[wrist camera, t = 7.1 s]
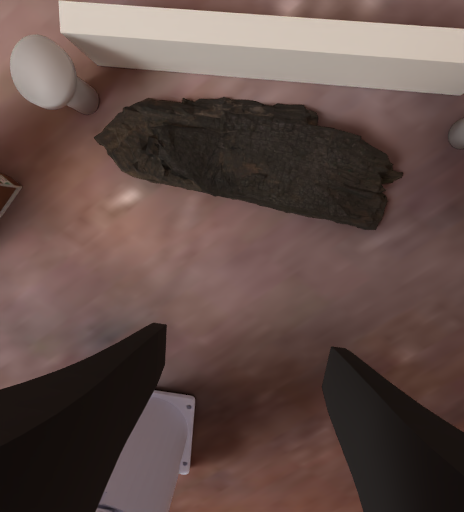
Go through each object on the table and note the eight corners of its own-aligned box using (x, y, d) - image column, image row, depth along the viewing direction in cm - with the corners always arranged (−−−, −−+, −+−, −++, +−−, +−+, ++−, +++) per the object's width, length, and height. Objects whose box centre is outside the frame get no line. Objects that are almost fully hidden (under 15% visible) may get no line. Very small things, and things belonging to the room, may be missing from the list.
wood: (414, 132, 17) (449, 117, 14) (377, 233, 19) (401, 239, 16) (115, 68, 18) (88, 41, 15) (106, 172, 19) (80, 166, 16)
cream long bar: (482, 163, 17) (552, 152, 13) (64, 124, 18) (13, 103, 14) (512, 73, 15) (599, 30, 12) (59, 38, 17) (2, -11, 13)
